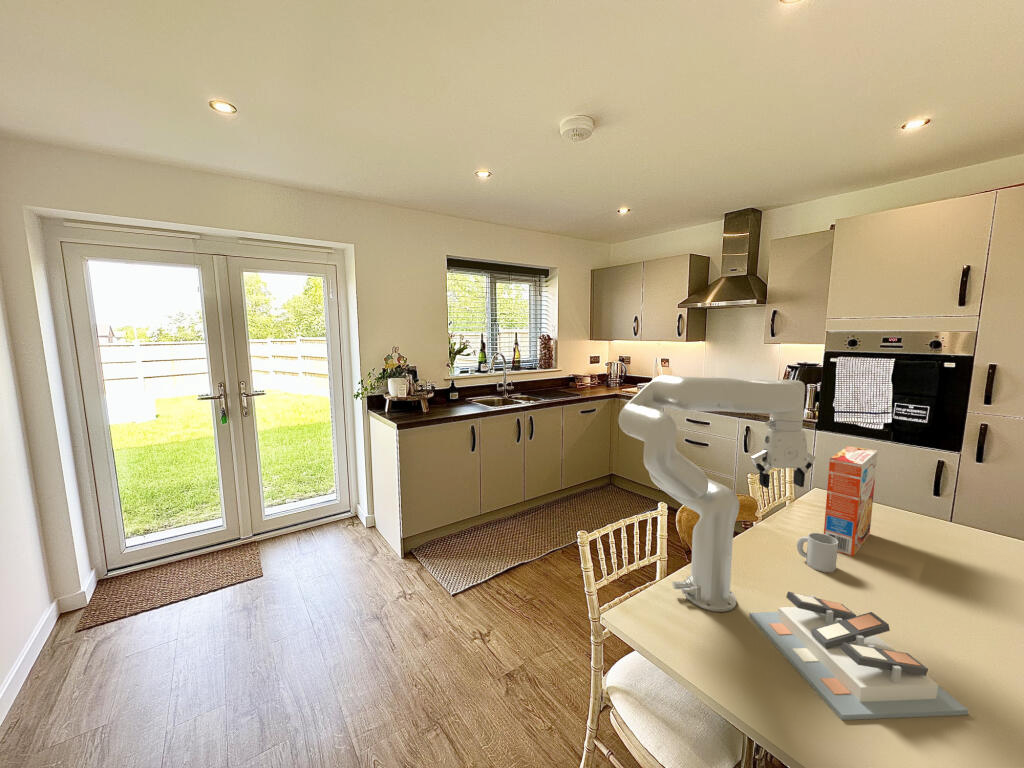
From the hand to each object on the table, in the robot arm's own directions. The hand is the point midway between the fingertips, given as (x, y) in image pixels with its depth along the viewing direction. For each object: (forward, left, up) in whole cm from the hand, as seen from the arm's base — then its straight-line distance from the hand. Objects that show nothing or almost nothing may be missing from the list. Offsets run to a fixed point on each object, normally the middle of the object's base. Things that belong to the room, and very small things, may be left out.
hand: (781, 485), depth 114 cm
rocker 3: (-3, -36, -22) cm, 42 cm away
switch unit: (-3, -28, -28) cm, 40 cm away
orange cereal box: (+40, +22, -29) cm, 54 cm away
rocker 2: (-3, -28, -22) cm, 36 cm away
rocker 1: (-3, -20, -22) cm, 30 cm away
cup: (+18, +8, -28) cm, 35 cm away
